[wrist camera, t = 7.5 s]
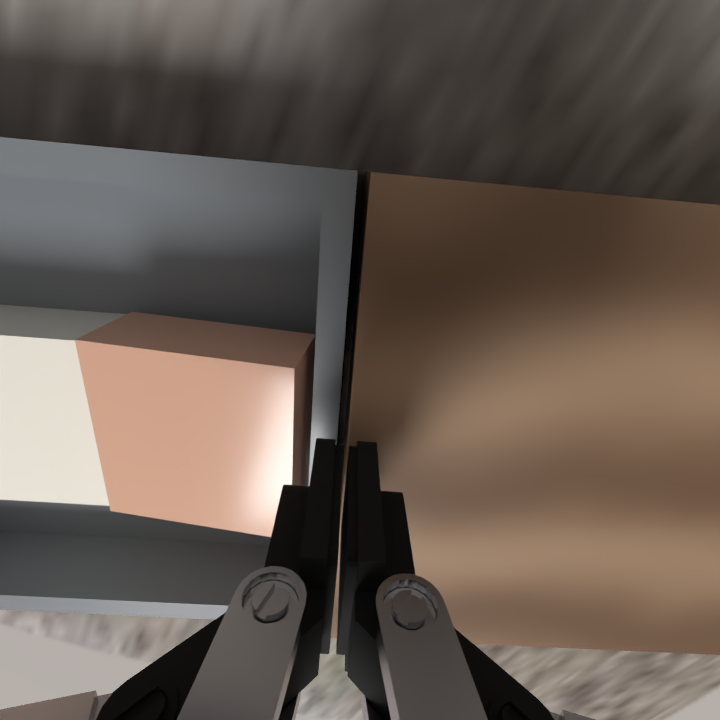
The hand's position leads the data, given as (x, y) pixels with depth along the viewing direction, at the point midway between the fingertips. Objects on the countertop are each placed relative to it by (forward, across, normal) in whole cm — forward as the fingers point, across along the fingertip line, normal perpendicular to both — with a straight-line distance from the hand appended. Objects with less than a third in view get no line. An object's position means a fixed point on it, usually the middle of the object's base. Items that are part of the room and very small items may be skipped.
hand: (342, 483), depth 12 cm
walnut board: (+5, -8, 0) cm, 10 cm away
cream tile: (+2, +10, 0) cm, 10 cm away
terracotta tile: (+3, +4, 0) cm, 5 cm away
